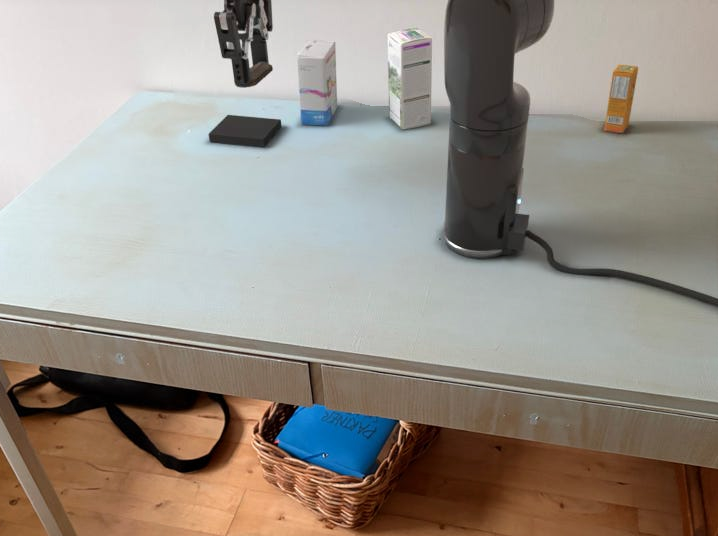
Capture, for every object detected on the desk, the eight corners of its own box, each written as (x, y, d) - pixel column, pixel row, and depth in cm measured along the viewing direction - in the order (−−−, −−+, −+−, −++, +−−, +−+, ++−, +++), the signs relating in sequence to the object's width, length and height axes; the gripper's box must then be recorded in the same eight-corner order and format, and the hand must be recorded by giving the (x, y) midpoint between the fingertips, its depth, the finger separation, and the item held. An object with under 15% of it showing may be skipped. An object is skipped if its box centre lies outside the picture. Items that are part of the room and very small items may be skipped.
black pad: (281, 127, 130) (280, 119, 129) (264, 147, 124) (263, 139, 123) (229, 122, 132) (227, 114, 131) (209, 142, 126) (208, 133, 125)
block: (274, 75, 107) (273, 62, 105) (253, 90, 103) (251, 77, 101) (253, 71, 108) (251, 59, 107) (230, 87, 104) (228, 74, 103)
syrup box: (432, 124, 128) (434, 36, 119) (400, 130, 127) (400, 42, 117) (417, 112, 132) (419, 26, 123) (387, 118, 131) (386, 32, 121)
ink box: (328, 126, 129) (324, 56, 121) (300, 125, 130) (294, 55, 122) (339, 106, 135) (335, 39, 128) (312, 105, 136) (307, 38, 128)
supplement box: (607, 123, 126) (619, 62, 119) (628, 126, 124) (641, 66, 118) (601, 130, 124) (613, 69, 117) (622, 134, 122) (635, 73, 116)
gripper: (242, -41, 88) (258, 99, 99) (284, -70, 98) (294, 60, 109) (184, -44, 90) (206, 94, 101) (231, -71, 100) (247, 56, 111)
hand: (252, 76), depth 105 cm, fingers closed on block, 6 cm apart
